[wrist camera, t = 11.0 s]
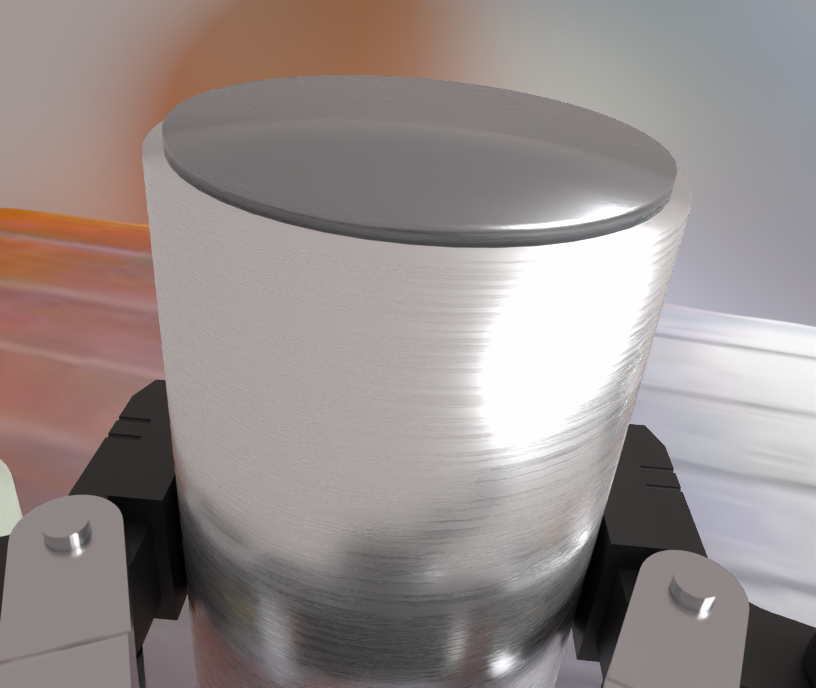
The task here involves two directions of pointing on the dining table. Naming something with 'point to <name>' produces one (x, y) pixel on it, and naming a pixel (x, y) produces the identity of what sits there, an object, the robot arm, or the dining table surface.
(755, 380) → the dining table surface
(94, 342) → the dining table surface
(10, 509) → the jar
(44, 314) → the dining table surface
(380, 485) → the can
